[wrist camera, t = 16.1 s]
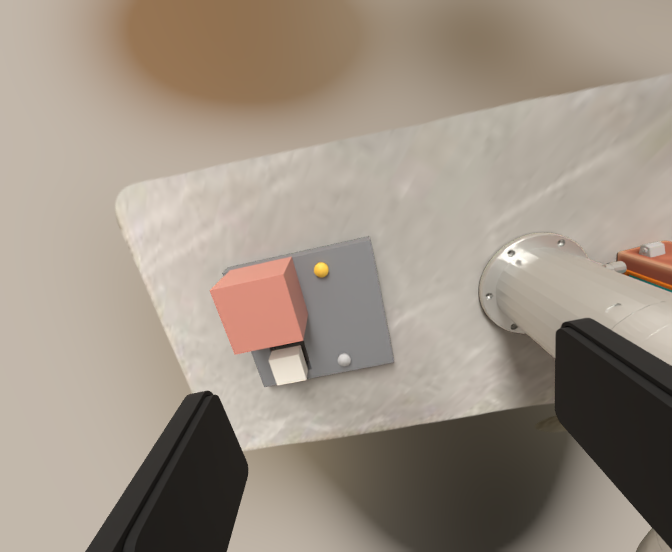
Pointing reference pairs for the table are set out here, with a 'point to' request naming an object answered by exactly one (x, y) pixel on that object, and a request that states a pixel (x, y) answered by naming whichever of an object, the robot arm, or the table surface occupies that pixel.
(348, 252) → the board
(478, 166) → the table surface
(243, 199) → the table surface
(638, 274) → the control panel
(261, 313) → the cap
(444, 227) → the table surface
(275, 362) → the block
